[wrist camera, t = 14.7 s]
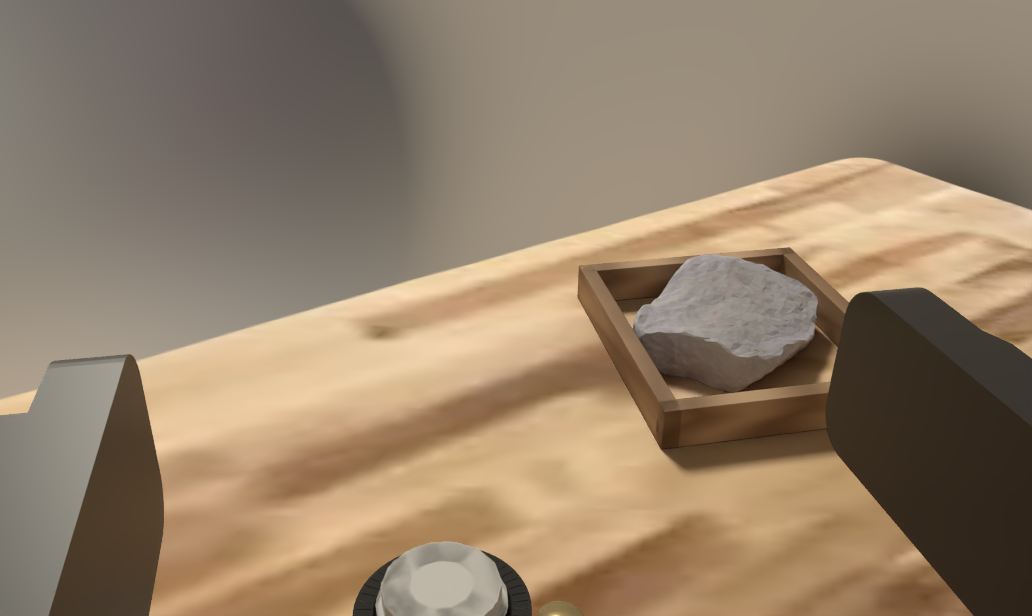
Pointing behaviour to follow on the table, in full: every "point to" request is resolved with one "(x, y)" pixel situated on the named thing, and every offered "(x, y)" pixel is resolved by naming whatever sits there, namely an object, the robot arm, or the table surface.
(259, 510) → the table surface
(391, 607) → the push button
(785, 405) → the block coaster frame
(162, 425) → the table surface
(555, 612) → the plate
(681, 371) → the stone block
